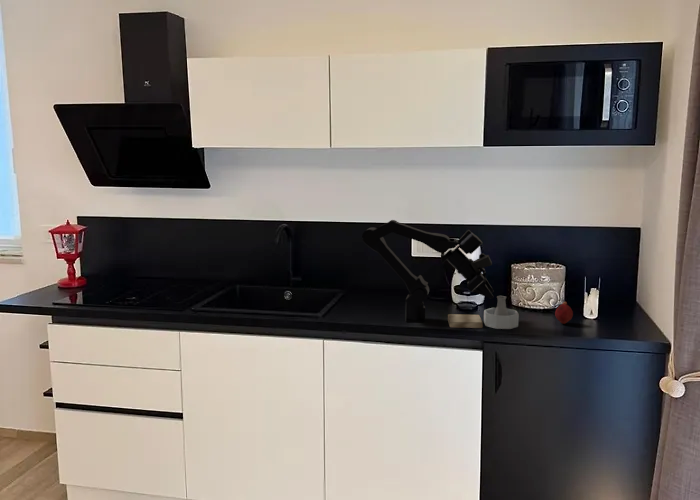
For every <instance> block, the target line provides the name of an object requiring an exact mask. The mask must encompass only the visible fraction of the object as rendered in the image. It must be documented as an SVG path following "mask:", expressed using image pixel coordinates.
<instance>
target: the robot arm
mask: <svg viewBox="0 0 700 500" xmlns="http://www.w3.org/2000/svg"><path fill="white" fill-rule="evenodd" d="M391 233H393V234H396V235H399V236H402V237H406V238H408V239H411V240H413V241H417V242H418V243H419V242H420V243H422V244H424V245H426V246H427V247H428V248H430V249H432V250H433V251H435V252H437V253H441V255H440V257H441V259H440V260H441V264H444V263H445V262H446V261H447V262H448V263H449V264H450V265H451V266H452V267H453V268H454V269H455V270H456V271H457V273H458V275H461V277H463V278H464V279H465V281H466V287H467V289H468V290H469V291H470V292H472V293H475V294H478V295H481V296H483V297H485V298H488V299H490V300H493V299H494V298H495V297H494V295H493V293H494V292H495V291H494V289H493V286H491V284H490V283H489V281H488V279H487V276H486V275H487V272H486V267H490V266H492V265H493V262H492V260H491V258H490V254H485V253H484V252H483V253H480V254H478V258H477V259H475V260H473V259H472V258H468V256H467V255H468V254H470V255H472V254H473V253H474V252H475V251H476V250H477V249H478V248H479V247H481V245H482V244H483V241H482V240H481V239H480V238H479V237H478V236H477V235H476V234H474V232H473V231H471V230H470V229H467V230H466V231H465V233H464V234H463V235H462V236H461V237H460V238H459V239H457V238H451V237H449V236H448V235H446V234H443V233H438V232H429V231H425V230H422V229H418V228H416V227H414V226H410V225H407V224H405V223H402V222H399V221H397V220H395V219H391V220H389V221H388V222H385V223H384V224H381V225H379V226H377V227H369V228H367V229H366V230H365V231H364V232H362V234H361V235H362V236H361V239H362V242H363V243H364V245H366V246H367V247H368V248H370V249H371V250H372V251H374V252H376V253H378V254H379V255H380V257H381V258H382V259H383V260H384V261H385V262H386V263H387V265H388V266H389V267H390V268H391V269H392V270H393V272H395V274H396V275H397V276H398V277H399V278H400V279H401V280H402V281H403V283H404V284H405V286H406V289H407V291H408V292H409V293H408V294H407V296H406V298H405V300H404V301H405V317H404V318H405V322H407V323H408V322H410V323H411V322H412V323H413V322H414V323H415V322H416V323H417V322H418V323H424V322H425V319H426V306H425V305H424V301H426V299H427V298H428V296H429V292H430V287H429V285H428V284H429V282H428V281H426V280H425V279H424V277H423V276H422V275H421V274H419V275H418V276H416V275H415V274H413V272H412V271H411V270H410V269H409V268H408V267H407V266H406V264H404V263H403V261H401V259H400V258H399V257H398V255H396V254H395V252H394V251H393V250H392V249H391V248H390V247H389V246H388V244H387V242H386V239H385V238H384V237H385V236H387V235H389V234H391ZM483 245H484V244H483ZM445 252H446V253H445ZM444 253H445V254H444Z"/></svg>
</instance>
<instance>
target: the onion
mask: <svg viewBox="0 0 700 500" xmlns="http://www.w3.org/2000/svg"><path fill="white" fill-rule="evenodd" d="M554 315H555V319H556V320H557V321H559V322H560V323H561V325H562V324H563V325H565V324H567V323H568V322H570V321H571V320H572V318H573V316H574V311H573V310H572V308H571V306H569V305H568V303H567V301H564V302H562V303H561V304H559V306H558V307H557V308H556V309H555V312H554Z"/></svg>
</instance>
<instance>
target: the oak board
mask: <svg viewBox="0 0 700 500" xmlns="http://www.w3.org/2000/svg"><path fill="white" fill-rule="evenodd" d="M447 321H448V325H449V327H450V328H459V329H460V328H463V329H465V328H467V329H470V328H472V329H483V323H484V321H483V320H482V318H481V317H480V314H457V313H456V314H454V313H451V314H447Z"/></svg>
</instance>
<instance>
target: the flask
mask: <svg viewBox="0 0 700 500" xmlns="http://www.w3.org/2000/svg"><path fill="white" fill-rule="evenodd" d="M496 298H497V299H496V300H497V304H496V307H495V308H496V310H495V313H494V315H497V316H509V315H508V312H507V309H508V308H507V304H506V303H507V302H506V299H507V296H504V295H497V296H496ZM506 308H507V309H506Z"/></svg>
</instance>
